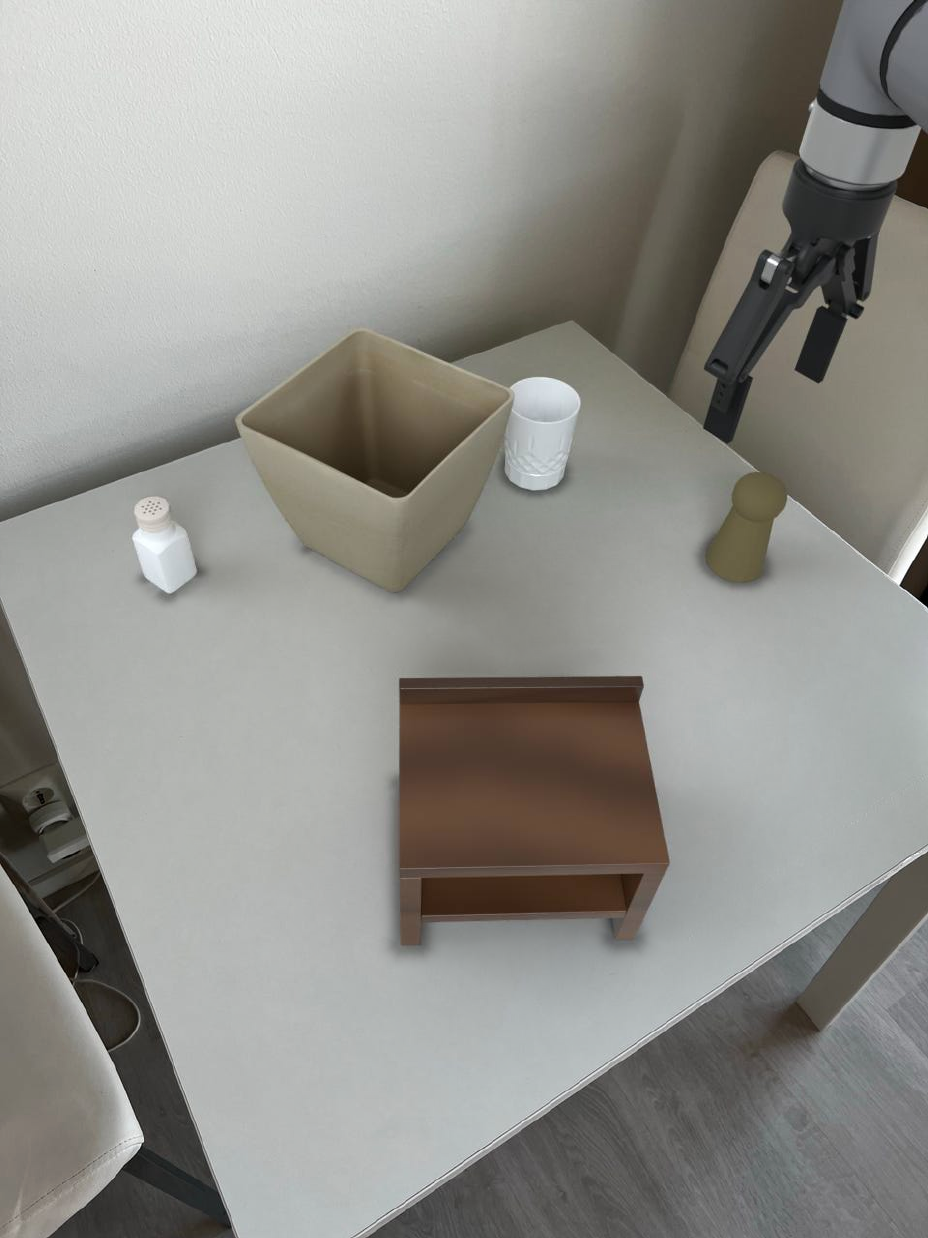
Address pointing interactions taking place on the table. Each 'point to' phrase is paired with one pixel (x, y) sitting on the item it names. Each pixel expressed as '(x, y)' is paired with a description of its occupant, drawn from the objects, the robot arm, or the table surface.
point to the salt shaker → (162, 545)
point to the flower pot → (377, 452)
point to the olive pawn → (747, 528)
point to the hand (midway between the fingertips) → (764, 404)
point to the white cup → (540, 432)
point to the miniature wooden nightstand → (526, 802)
